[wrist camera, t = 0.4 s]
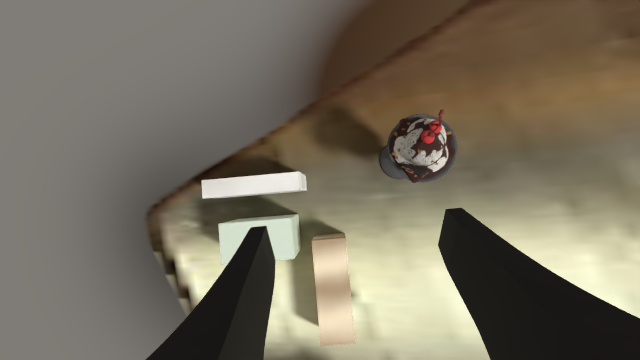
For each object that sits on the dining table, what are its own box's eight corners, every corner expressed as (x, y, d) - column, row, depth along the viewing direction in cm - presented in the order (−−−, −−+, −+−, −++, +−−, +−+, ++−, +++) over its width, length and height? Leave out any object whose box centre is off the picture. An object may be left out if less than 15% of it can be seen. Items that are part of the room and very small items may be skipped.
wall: (306, 190, 38) (300, 189, 31) (226, 197, 38) (202, 198, 31) (305, 175, 38) (299, 171, 31) (225, 183, 38) (201, 180, 31)
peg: (352, 325, 37) (355, 343, 32) (322, 327, 37) (320, 345, 32) (344, 232, 37) (345, 237, 33) (314, 235, 38) (311, 240, 33)
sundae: (406, 125, 38) (455, 80, 23) (433, 169, 37) (500, 151, 22) (364, 151, 38) (383, 121, 23) (390, 194, 37) (427, 194, 22)
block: (301, 248, 37) (294, 258, 31) (240, 252, 38) (221, 264, 31) (298, 214, 38) (290, 217, 31) (237, 219, 38) (218, 223, 32)
